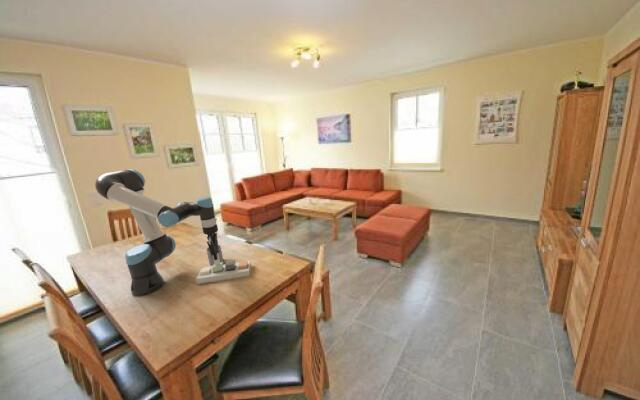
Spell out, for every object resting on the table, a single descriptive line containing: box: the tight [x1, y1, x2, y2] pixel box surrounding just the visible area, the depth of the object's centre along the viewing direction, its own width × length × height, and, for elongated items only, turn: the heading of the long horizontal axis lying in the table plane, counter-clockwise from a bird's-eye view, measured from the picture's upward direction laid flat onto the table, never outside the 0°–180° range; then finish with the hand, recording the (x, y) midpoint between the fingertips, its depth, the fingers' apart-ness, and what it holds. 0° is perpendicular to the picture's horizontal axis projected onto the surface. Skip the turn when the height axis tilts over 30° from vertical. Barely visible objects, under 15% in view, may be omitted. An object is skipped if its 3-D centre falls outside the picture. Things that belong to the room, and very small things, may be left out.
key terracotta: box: [238, 260, 249, 269], centre depth 146 cm, size 5×5×4 cm
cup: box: [206, 244, 224, 266], centre depth 160 cm, size 8×8×10 cm
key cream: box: [199, 266, 211, 275], centre depth 143 cm, size 5×5×4 cm
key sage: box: [212, 261, 224, 273], centre depth 143 cm, size 5×5×4 cm
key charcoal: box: [225, 260, 237, 271], centre depth 144 cm, size 5×5×4 cm
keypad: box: [195, 260, 252, 285], centre depth 145 cm, size 28×12×4 cm, turn 100°
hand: (217, 263), depth 143 cm, fingers closed
